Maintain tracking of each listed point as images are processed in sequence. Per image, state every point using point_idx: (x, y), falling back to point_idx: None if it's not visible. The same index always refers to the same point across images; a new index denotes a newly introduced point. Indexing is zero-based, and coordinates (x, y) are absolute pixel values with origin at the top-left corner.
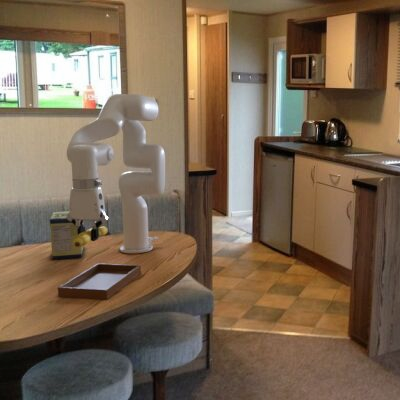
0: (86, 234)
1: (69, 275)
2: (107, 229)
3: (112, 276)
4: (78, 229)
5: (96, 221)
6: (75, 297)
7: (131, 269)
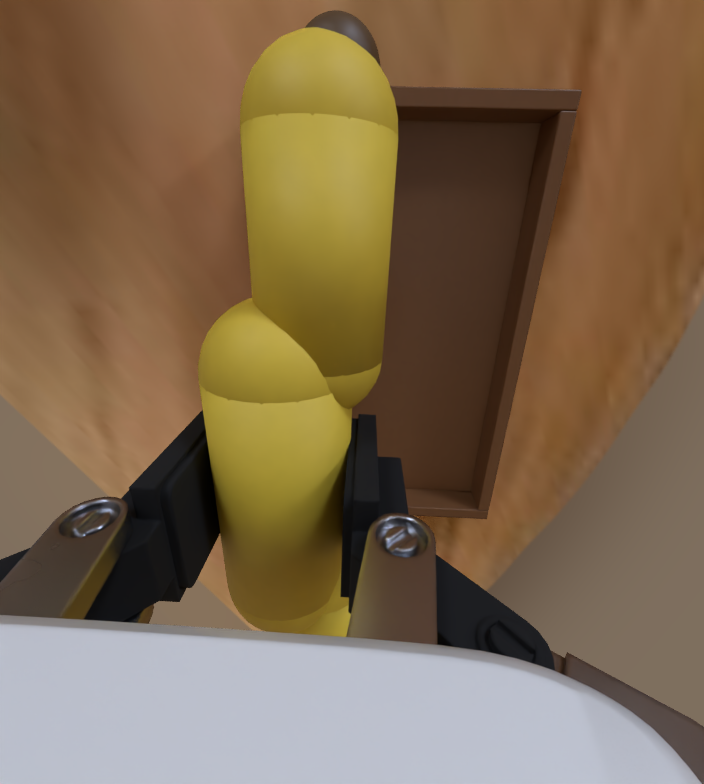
0: (322, 608)
1: (155, 216)
2: (395, 106)
3: (411, 244)
4: (169, 591)
5: (389, 637)
6: None
7: (503, 118)
